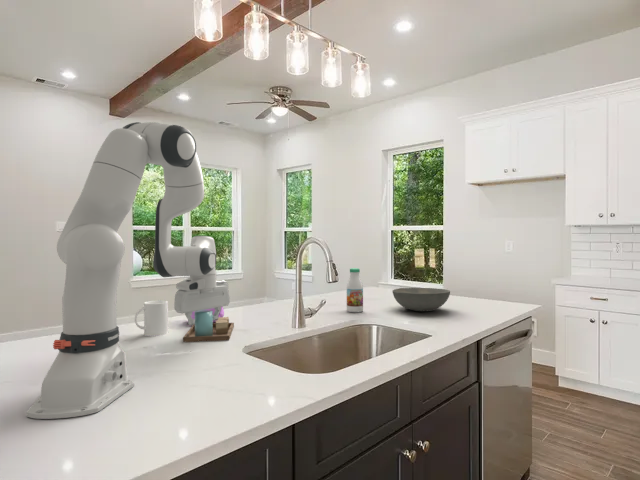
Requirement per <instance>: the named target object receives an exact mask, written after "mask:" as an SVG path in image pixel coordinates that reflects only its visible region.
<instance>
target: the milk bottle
mask: <svg viewBox="0 0 640 480" xmlns="http://www.w3.org/2000/svg"><path fill="white" fill-rule="evenodd" d="M349 274H350V275H349V277H348V280H347V283H346V311H347V312H349V313H362V312H363V311H364V287H363V286H364V285H363V282H362V280H361V277H360V268H356V267H353V268H352V267H350V268H349Z"/></svg>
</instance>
